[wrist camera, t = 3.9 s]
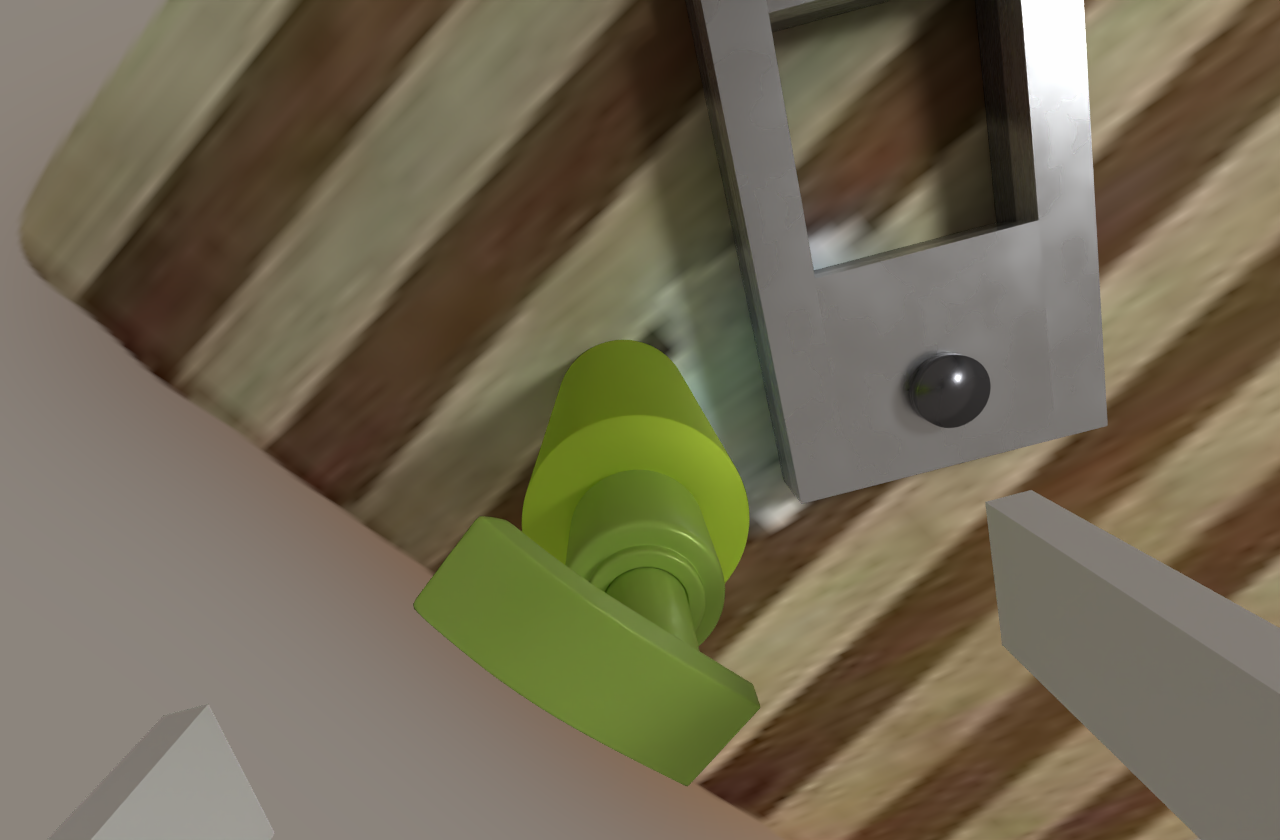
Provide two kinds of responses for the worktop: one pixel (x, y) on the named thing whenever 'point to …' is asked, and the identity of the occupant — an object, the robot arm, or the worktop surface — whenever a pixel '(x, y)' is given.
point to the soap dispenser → (612, 568)
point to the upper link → (920, 275)
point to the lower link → (994, 114)
